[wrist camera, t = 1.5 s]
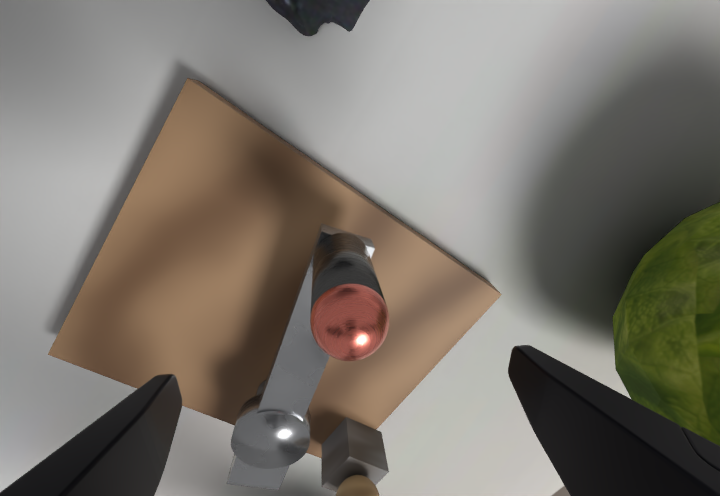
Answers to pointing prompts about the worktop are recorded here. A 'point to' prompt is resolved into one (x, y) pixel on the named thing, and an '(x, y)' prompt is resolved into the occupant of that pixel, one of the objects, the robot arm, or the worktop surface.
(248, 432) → the lever
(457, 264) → the tan wooden panel
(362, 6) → the dark slate chunk
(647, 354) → the lettuce
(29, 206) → the worktop surface
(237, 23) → the worktop surface
